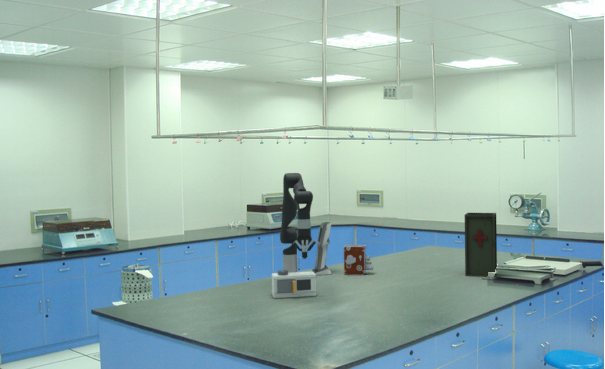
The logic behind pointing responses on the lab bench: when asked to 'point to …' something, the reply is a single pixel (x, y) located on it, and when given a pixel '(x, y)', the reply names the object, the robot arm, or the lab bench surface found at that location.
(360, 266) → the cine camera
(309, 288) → the camera housing
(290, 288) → the side door
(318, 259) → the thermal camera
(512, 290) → the lab bench surface
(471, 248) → the first aid box
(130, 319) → the lab bench surface
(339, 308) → the lab bench surface
